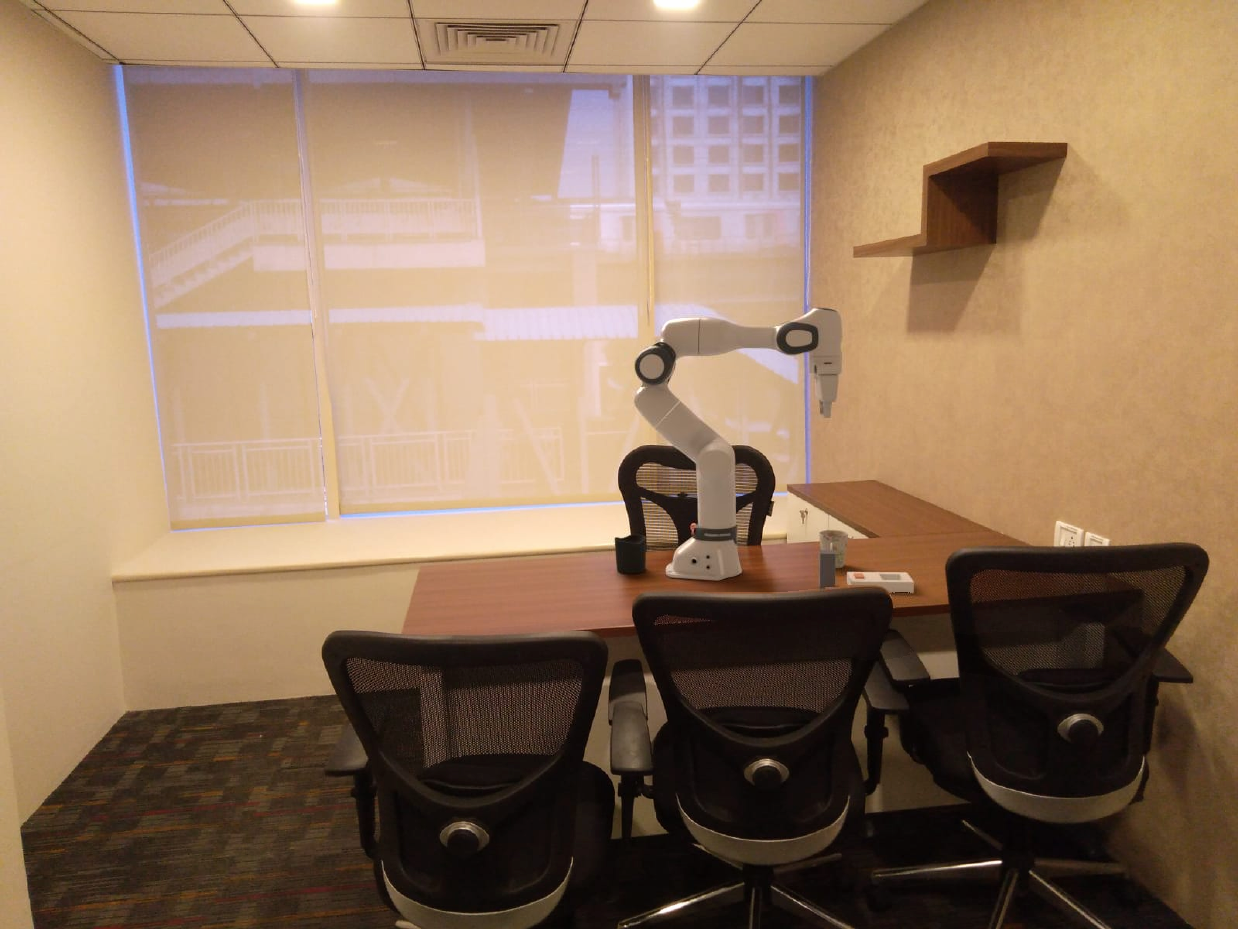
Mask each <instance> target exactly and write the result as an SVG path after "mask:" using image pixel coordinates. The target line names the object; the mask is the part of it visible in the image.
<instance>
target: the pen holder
mask: <svg viewBox="0 0 1238 929" xmlns="http://www.w3.org/2000/svg"><path fill="white" fill-rule="evenodd" d="M646 546H647V536H645V535H641V534H629V535H627V536H624V537H618V536H617V537H614V551H615V563H616V570H617V572H619V573H621V574H626V575H634V574H640V573H643V572H644V571H645V570H646V566H647V565H646V563H647V562H646V560H647V559H646V557H647V556H646V555H647V554H646V553H647V547H646Z"/></svg>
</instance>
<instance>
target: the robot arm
mask: <svg viewBox="0 0 1238 929" xmlns="http://www.w3.org/2000/svg"><path fill="white" fill-rule="evenodd" d="M842 342H843V322H842V318H841V315H840V313H839V312H838V311H837V310H835V309H832V308H827V307H813V308H812V309H811V310H809V311H808V312H807V313H805V314H803V315H802V316H799V317H797V318H795V319H791V320H788V321H785V322H783V323H780V324H778V325H775V326H744V325H739V324H736V323H733V322H730V321H728V320H726V319H722V318H721V319H720V318H716V317H708V316H707V317H706V316H691V317H689V316H688V317H680V318H674V319H670V320H668V321H665V323H664V325H663V326H662V328H661V332H660V338H659V341H656V342H655V343H652V344H651V345H649V346H646V347H645V348H643V349H642V350H641V351H640V352H639V353H637V356H636V358H635V360H634V372H635V374H636V376H637V378H638V379H639V380H640V381H641V385H640V387H639V388H638V389H637V390H636V392H635V394H634V397H633V404H634V407H635V408H636V409H637V411H638V413H640V415H641V416H642V417H643V418H644V420H646V421H647V423H648V424H649V425H650V426H651V427H653V429H654V430H656V432H658V433H659V434H660V435H661V436H662V437H663V438H664V439H665V440H666V441H667V442H668V443H670V444H671V446H673V447H674V448H675V449H677V450H679V452H681V453H682V454H684V455H685V456H686V457H687V458H688V459H690V460H691V461H692V462H694V464H695V472H696V491H697V492H696V493H697V523H694V522H693V523H691V525H690V527H689V528H690V531H691V532H690V534H691V537H689V539H688V540H686V541H684V542H683V543H682V544H680V546H678V548H676V550H675V551H674V553H673V558H672V562H670V563H669V564H667V565H666V568H665V574H666V576H668V577H669V578H675V579H690V580H705V581H721V580H724V579H726V578H733V577H736V576H738V575H740V574H742V573H743V570H742V567H741V563H740V558H739V553H738V552H739V551H738V541H739V530H738V524H737V519H736V518H737V516H736V515H737V514H736V513H737V511H736V507H737V506H736V505H737V502H736V454H735V450H734V448H733V446H732V445H731V443H729V441H727V440H726V439H725V438H724V437H723V436H721V435H720V434H719V433H718V432H717V431H715V430H714V429H713V428H712V427H711V426H709V425H708V424H707V423H705V422H704V421H703V420H702V419H701V418H699V417H698V415H696V414H695V412H693V411H692V410H691V409H690V408H688V406H687V405H686V404H685V403H684V402H682V401H681V400H680V398H679V397H677V396H676V395H675V394H674V393H673V392H672V391H671V390H670V388H669V386H668V385H669V382H670V380H671V378H672V376H673V374H674V372H675V370H676V365H677V364H676V362H677V360H679V359H680V358H683V357H690V356H691V357H713V356H719V355H724V354H727V353H730V352H733V351H736V350H741V349H770V350H775V351H777V352H779V353H781V354H784V355H786V356H798V355H802V354H805V353H807V354H808V355H809V356H808V359H809V360H808V361H809V363H808V364H809V365H808V366H809V367H808V372H809V374H813V379H814V380H815V381H814V382H815V384H814V396H815V398H816V399H818V406H819V414H820V415H822V416H823V418H824V419H829V418H831V416H832V415H831V414H832V408H833V403H836V401H837V397H838V390H839V389H838V387H839V378H840V377H839V376H840V375H841V374H842V372H843V368H842V366H843V365H842V364H843V353H842V349H841V346H842Z"/></svg>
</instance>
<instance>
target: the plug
mask: <svg viewBox="0 0 1238 929" xmlns="http://www.w3.org/2000/svg"><path fill="white" fill-rule="evenodd" d="M817 582H818V587H819V589H820V588H825V587H835V588H836V568H835V552H834V550H821V549H818V581H817Z"/></svg>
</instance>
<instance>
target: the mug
mask: <svg viewBox="0 0 1238 929" xmlns="http://www.w3.org/2000/svg"><path fill="white" fill-rule="evenodd" d="M818 536H819V538H818V539H819V546H820V550H834V552H835V569H841V568H844V566H845V559H846V552H847V546H848V539H849V533H848V532H846V531H845V530H839V529H838V530H837V529H828V530H821V531H819V532H818Z"/></svg>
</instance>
